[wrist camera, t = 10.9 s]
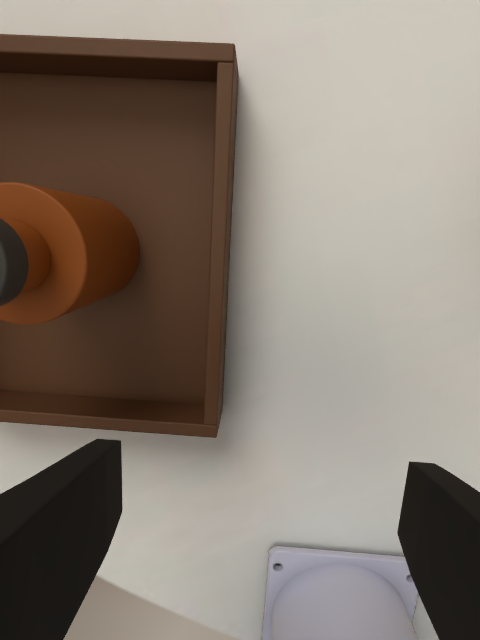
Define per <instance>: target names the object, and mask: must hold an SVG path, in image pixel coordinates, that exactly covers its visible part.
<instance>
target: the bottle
mask: <svg viewBox="0 0 480 640" xmlns="http://www.w3.org/2000/svg"><path fill="white" fill-rule="evenodd" d="M138 261H139V242H138V238H137V235H136V232H135V230H134V228H133V226H132V224H131V222H130V221H129V219H128V218H127V217H126V216H125V214H124V213H122V212H121V211H120V210H119V209H118V208H117V207H115V206H114V205H112V204H110V203H109V202H106V201H104V200H101V199H97V198H93V197H88V196H83V195H78V194H74V193H69V192H64V191H59V190H54V189H49V188H44V187H39V186H34V185H29V184H25V183H18V182H2V183H0V320H3V321H5V322H9V323H13V324H19V325H37V324H42V323H46V322H49V321H52V320H54V319H56V318H59V317H61V316H63V315H66V314H68V313H70V312H73V311H75V310H77V309H80V308H82V307H84V306H86V305H89V304H91V303H93V302H96V301H98V300H100V299H103V298H105V297H107V296H110V295H112V294H114V293H116V292H118V291H120V290H121V289H122V288H123V287H125V286H126V285H127V284H128V283H129V281H130V280H131V279H132V277H133V275H134V273H135V271H136V269H137V266H138Z"/></svg>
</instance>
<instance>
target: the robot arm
mask: <svg viewBox="0 0 480 640" xmlns="http://www.w3.org/2000/svg"><path fill="white" fill-rule="evenodd" d="M121 513H122V463H121V441H119V440H105V439H96V440H94V441H92V442H90V443H89V444H87V445H85V446H83V447H81V448H80V449H78V450H76V451H75V452H73V453H71V454H70V455H68V456H66V457H65V458H63V459H61V460H60V461H58V462H56V463H55V464H53V465H51V466H49V467H48V468H46V469H44V470H43V471H41V472H39V473H38V474H36V475H34V476H33V477H31V478H29V479H27V480H26V481H24V482H22V483H20V484H18V485H16V486H15V487H13V488H11V489H9V490H7V491H5V492H3V493H2V494H0V640H63V639H64V637H65V635H66V633H67V631H68V629H69V627H70V625H71V623H72V621H73V619H74V617H75V615H76V613H77V612H78V609H79V608H80V606H81V604H82V601H83V600H84V598H85V596H86V594H87V592H88V590H89V588H90V586H91V584H92V582H93V580H94V578H95V576H96V574H97V572H98V570H99V568H100V566H101V564H102V562H103V560H104V558H105V556H106V554H107V552H108V549H109V547H110V544H111V541H112V539H113V536H114V533H115V530H116V528H117V525H118V522H119V519H120V516H121ZM398 536H399V540H400V543H401V546H402V550H403V553H404V556H405V557H403V556H391V555H379V554H367V553H355V552H343V551H331V550H319V549H307V548H295V547H283V546H275V547H273V548H272V549H271V550H270V552H269V559H268V571H267V582H266V594H265V606H264V617H263V629H262V640H418V639H417V636H416V634H415V631H414V629H413V626H412V622H413V617H414V612H415V607H416V601H417V596H418V593H419V596H420V598H421V600H422V602H423V604H424V607H425V609H426V611H427V613H428V616H429V618H430V620H431V622H432V624H433V627H434V629H435V631H436V633H437V635H438V638H439V640H480V492H478V491H477V490H475V489H474V488H472V487H471V486H470V485H468V484H467V483H465V482H464V481H462V480H461V479H459V478H458V477H456V476H454V475H453V474H451V473H450V472H448V471H447V470H445V469H443V468H442V467H440V466H438V465H436V464H434V463H421V462H409V466H408V472H407V478H406V484H405V490H404V496H403V502H402V509H401V515H400V521H399V527H398ZM275 563H280V565H275ZM408 575H411V576H408Z"/></svg>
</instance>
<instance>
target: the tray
mask: <svg viewBox="0 0 480 640" xmlns="http://www.w3.org/2000/svg"><path fill="white" fill-rule="evenodd" d="M238 74H239V73H238V66H237V58H236V50H235V45H234V44H230V43H205V42H180V41H156V40H131V39H107V38H82V37H58V36H33V35H9V34H0V183H2V182H18V183H25V184H29V185H34V186H39V187H44V188H49V189H54V190H59V191H64V192H69V193H74V194H78V195H83V196H88V197H93V198H97V199H101V200H104V201H106V202H109V203H110V204H112V205H114V206H115V207H117V208H118V209H119V210H120V211H121V212H122V213H124V214H125V216H126V217H127V218H128V219H129V221H130V222H131V224H132V226H133V228H134V230H135V232H136V235H137V238H138V242H139V261H138V266H137V269H136V271H135V273H134V275H133V277H132V279H131V280H130V281H129V283H128V284H127V285H126V286H125V287H123V288H122V289H121V290H120V291H118V292H116V293H114V294H112V295H110V296H107V297H105V298H103V299H100V300H98V301H96V302H93V303H91V304H89V305H86V306H84V307H82V308H80V309H77V310H75V311H73V312H70V313H68V314H66V315H63V316H61V317H59V318H56V319H54V320H52V321H49V322H46V323H42V324H37V325H19V324H13V323H9V322H5V321H3V320H0V422H12V423H25V424H38V425H52V426H65V427H79V428H92V429H105V430H119V431H132V432H146V433H159V434H172V435H186V436H199V437H213V438H216V437H217V433H218V429H219V424H220V419H221V414H222V403H223V382H224V362H225V341H226V320H227V300H228V279H229V259H230V238H231V218H232V197H233V177H234V156H235V136H236V115H237V95H238Z"/></svg>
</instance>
